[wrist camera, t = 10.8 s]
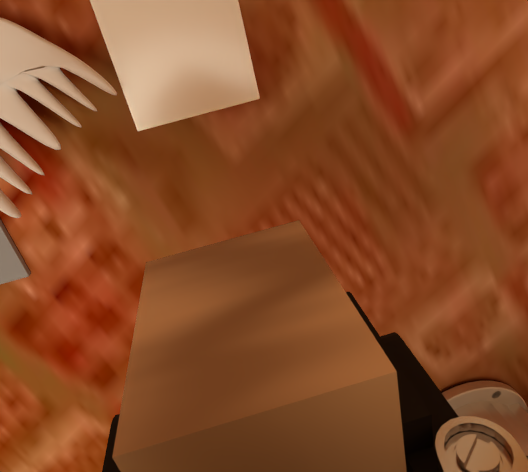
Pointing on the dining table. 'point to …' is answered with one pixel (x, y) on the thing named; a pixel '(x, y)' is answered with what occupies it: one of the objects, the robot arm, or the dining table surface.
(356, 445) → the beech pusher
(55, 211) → the dining table surface
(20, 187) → the cream plastic utensil
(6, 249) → the mat
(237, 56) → the tile
